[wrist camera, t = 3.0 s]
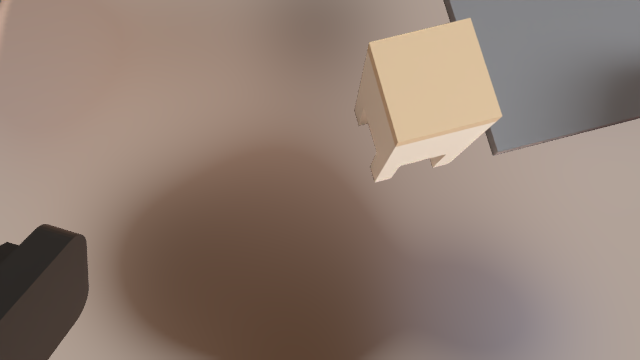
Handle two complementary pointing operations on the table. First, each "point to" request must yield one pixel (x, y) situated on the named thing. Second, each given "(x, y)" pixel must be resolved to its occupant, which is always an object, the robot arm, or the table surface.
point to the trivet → (556, 65)
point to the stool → (425, 96)
